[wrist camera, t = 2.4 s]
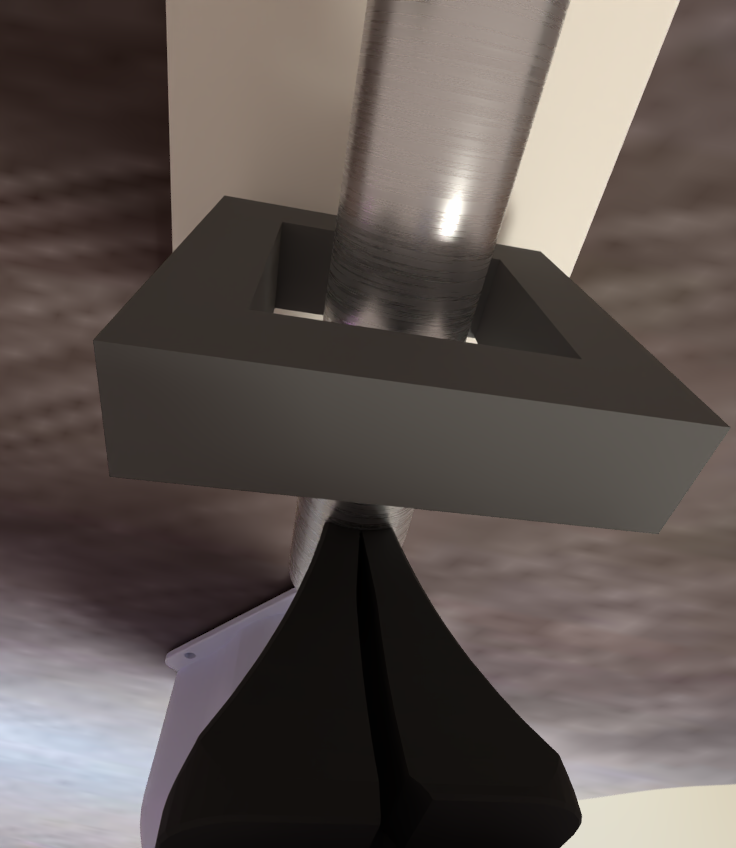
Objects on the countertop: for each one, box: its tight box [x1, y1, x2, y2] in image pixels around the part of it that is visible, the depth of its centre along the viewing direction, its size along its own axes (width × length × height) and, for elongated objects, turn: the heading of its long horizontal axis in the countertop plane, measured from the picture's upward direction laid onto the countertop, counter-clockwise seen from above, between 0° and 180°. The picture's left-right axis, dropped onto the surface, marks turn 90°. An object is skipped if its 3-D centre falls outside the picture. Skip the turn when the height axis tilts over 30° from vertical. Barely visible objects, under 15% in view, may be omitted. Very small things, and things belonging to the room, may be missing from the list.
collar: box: [93, 195, 730, 534], centre depth 10 cm, size 2×8×8 cm, turn 80°
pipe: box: [289, 0, 571, 591], centre depth 9 cm, size 20×3×3 cm, turn 170°
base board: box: [166, 0, 680, 344], centre depth 13 cm, size 22×11×1 cm, turn 170°
